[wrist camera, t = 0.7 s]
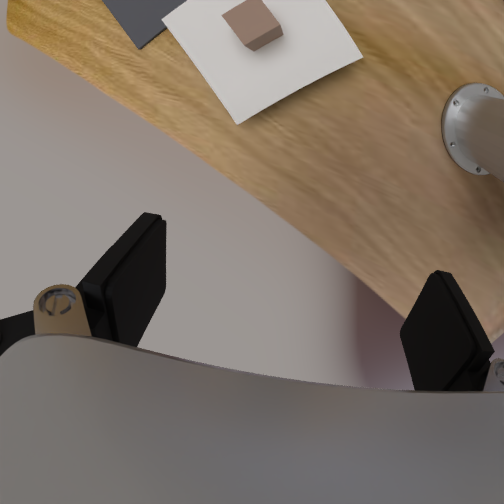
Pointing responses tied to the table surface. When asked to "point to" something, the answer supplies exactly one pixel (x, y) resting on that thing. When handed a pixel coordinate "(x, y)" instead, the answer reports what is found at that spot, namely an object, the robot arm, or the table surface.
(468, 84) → the robot arm
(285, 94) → the lid
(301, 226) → the table surface
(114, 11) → the mat
